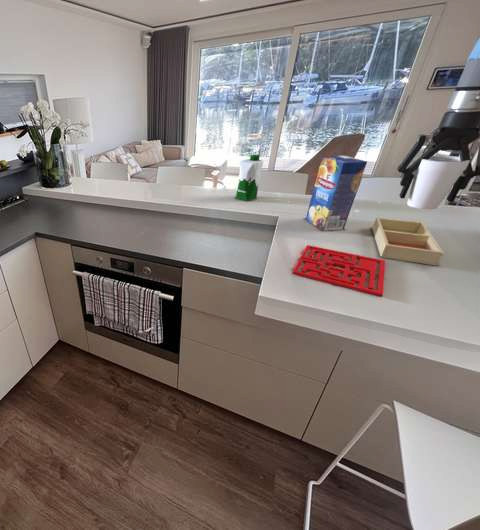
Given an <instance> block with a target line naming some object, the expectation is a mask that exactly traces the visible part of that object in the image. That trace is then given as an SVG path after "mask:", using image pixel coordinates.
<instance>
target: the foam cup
mask: <svg viewBox="0 0 480 530" xmlns="http://www.w3.org/2000/svg"><path fill="white" fill-rule="evenodd" d="M469 162H470V160H466V161H462V162H461V160H460V156H454V155H433V156H432V157H430V158H429V159H428V160H426V159H422V161H421V163H420V165H419V168H418V169H416V170H415V171H414V178H413V180H412V182H411V187H410V191H409V195H408V199H407V203H406V205H407V206H409V207H410V208H414V209H418V210H419V209H420V210H436V209H438V207H439V206H440V205H441V203H442V202H443V200H444V199H445V198H446V196H448V194H449V193H450V191H451V189H452V187H453V185H454V184H455V182H456V181H457V179H458V178H459V177H460V176H462V175H463V171H464V170H466V168H467V166H468V164H469Z"/></svg>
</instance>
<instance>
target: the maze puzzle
mask: <svg viewBox="0 0 480 530" xmlns="http://www.w3.org/2000/svg"><path fill="white" fill-rule="evenodd" d="M309 250H311V251H310V253H309V255H308V256H307V254H308V252H309ZM315 253H316V254H317V255H316V257H314V256H315ZM322 255H324V256H323V259H322V262H320V259H321V257H322ZM329 256H331V259H330V260H329ZM349 258H351V260H349V261H348V259H349ZM357 259H358V260H359V261H358V265H356V260H357ZM303 263H304V265H303V267H302V269H301V271H299V270H300V268H301V266H302V264H303ZM377 263H378V264H379V271H378V281H377V290H375V289H374V288H375V287H374V286H375V279H376V271H377V270H376V269H377ZM326 265H327V266H328V267H327V268H326ZM317 266H318V267H319V269H318V268H317ZM336 266H338V267H336ZM339 267H342V268H339ZM350 269H352V270H350ZM385 270H386V260H384V259H379V258H374V257H369V256H365V255H364V256H363V255H360V254H354V253H349V252H344V251H339V250H334V249H328V248H325V247H320V246H315V245H308V244H307V245H306V246H305V248H304V250H303V252H302V254H301V255H300V258H299V259H298V262H297V263H296V265H295V267H294V268H293V270H292V274H293V275H297V276H301V277H304V278H309V279H313V280H317V281H319V282H323V283H328V284H331V285H336V286H339V287H344V288H347V289H352V290H355V291H359V292H363V293H367V294H370V295H375V296H378V297H383V295H384V284H385V272H386V271H385ZM307 272H308V273H307ZM327 273H328V274H327ZM340 273H342V277H339V276H340ZM367 273H369V278H368V285H367V287H365V283H366V277H367ZM318 274H319V275H320V276H319V275H318ZM358 274H360V277H357V275H358ZM348 277H351V278H350V280H349V279H348ZM356 284H358V285H356Z"/></svg>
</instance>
